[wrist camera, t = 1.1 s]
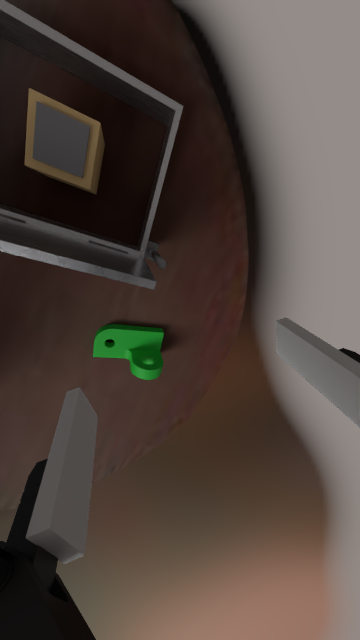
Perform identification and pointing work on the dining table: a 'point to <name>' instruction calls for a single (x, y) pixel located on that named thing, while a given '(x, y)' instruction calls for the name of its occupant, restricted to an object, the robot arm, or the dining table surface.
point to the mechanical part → (132, 347)
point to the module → (63, 143)
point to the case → (61, 239)
